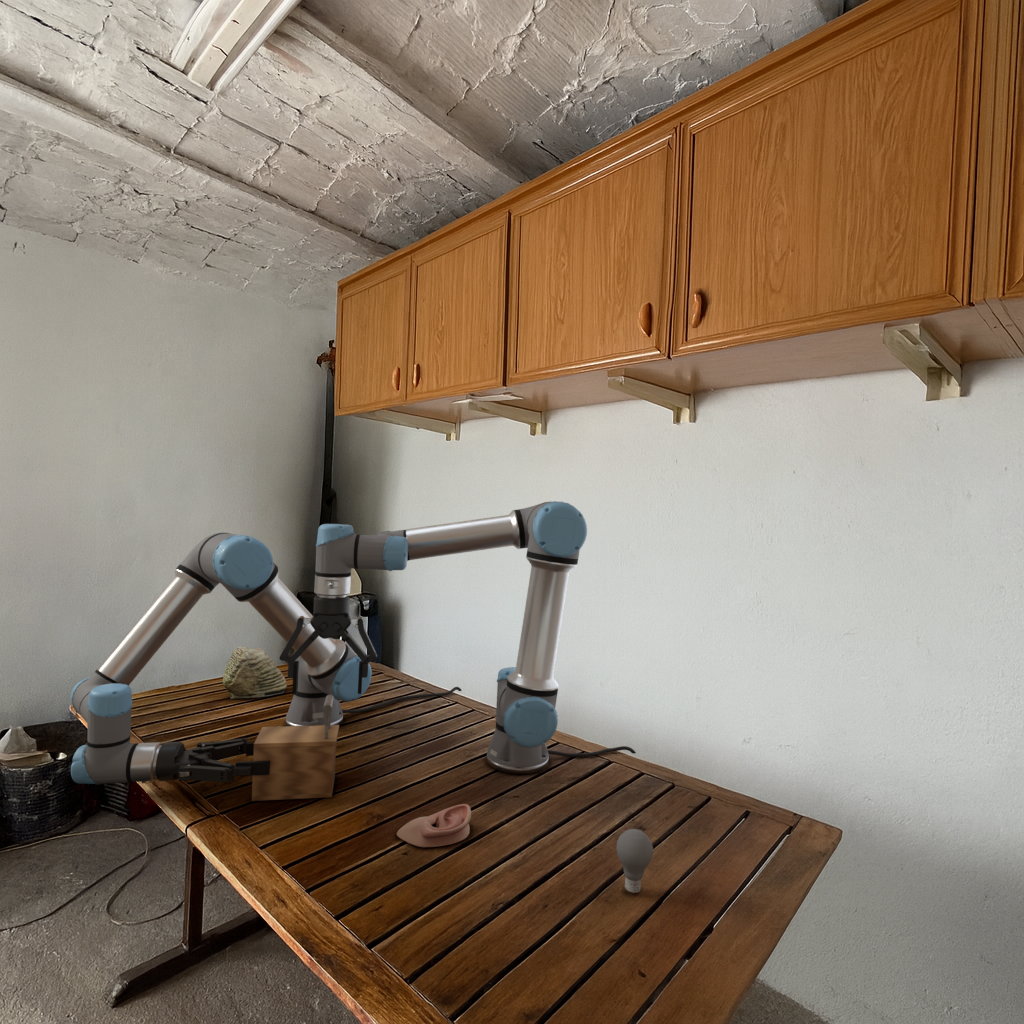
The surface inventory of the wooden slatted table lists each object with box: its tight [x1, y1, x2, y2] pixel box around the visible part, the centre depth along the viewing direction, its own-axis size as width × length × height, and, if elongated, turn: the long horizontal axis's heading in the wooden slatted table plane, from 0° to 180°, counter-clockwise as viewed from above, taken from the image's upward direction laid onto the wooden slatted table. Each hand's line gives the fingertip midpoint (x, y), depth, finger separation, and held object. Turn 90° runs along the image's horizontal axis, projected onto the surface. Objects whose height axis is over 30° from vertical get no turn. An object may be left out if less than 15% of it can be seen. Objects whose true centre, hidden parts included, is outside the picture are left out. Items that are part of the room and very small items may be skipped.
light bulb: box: [615, 828, 654, 894], centre depth 106 cm, size 6×6×10 cm
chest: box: [251, 744, 337, 802], centre depth 137 cm, size 16×10×11 cm, turn 102°
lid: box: [254, 695, 340, 748], centre depth 137 cm, size 16×10×8 cm, turn 102°
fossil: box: [222, 646, 288, 699], centre depth 198 cm, size 9×18×15 cm, turn 132°
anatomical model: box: [396, 803, 472, 848], centre depth 121 cm, size 13×4×12 cm
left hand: (273, 757), depth 136 cm, fingers closed on chest, 10 cm apart
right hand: (327, 692), depth 138 cm, fingers open, 13 cm apart
